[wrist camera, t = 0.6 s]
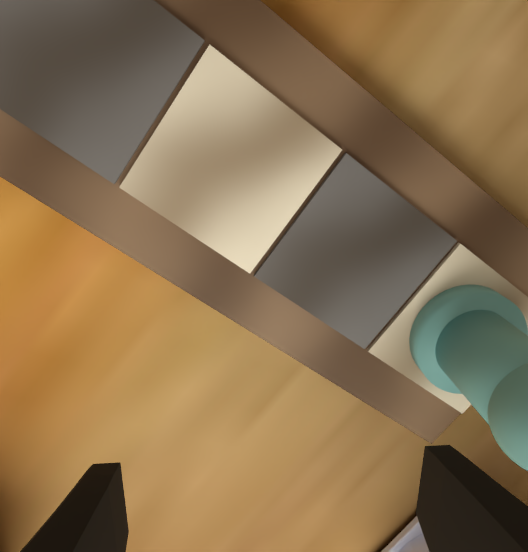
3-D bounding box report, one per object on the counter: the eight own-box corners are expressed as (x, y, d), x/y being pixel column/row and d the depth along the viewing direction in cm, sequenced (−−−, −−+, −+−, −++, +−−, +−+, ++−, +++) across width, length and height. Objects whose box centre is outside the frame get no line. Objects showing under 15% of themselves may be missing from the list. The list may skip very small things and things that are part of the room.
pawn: (534, 321, 20) (708, 437, 13) (462, 398, 21) (585, 545, 14) (460, 263, 19) (606, 355, 12) (387, 348, 20) (479, 480, 13)
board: (574, 273, 21) (591, 281, 20) (424, 432, 23) (433, 446, 22) (83, -143, 14) (73, -161, 13) (-58, 131, 17) (-75, 132, 16)
